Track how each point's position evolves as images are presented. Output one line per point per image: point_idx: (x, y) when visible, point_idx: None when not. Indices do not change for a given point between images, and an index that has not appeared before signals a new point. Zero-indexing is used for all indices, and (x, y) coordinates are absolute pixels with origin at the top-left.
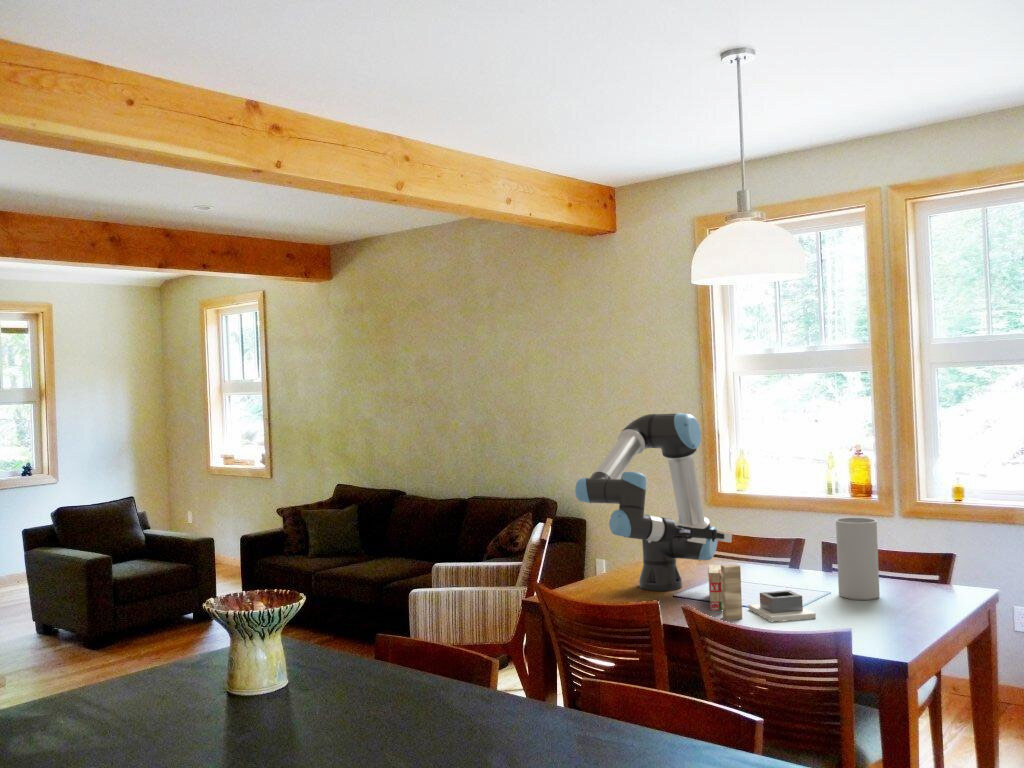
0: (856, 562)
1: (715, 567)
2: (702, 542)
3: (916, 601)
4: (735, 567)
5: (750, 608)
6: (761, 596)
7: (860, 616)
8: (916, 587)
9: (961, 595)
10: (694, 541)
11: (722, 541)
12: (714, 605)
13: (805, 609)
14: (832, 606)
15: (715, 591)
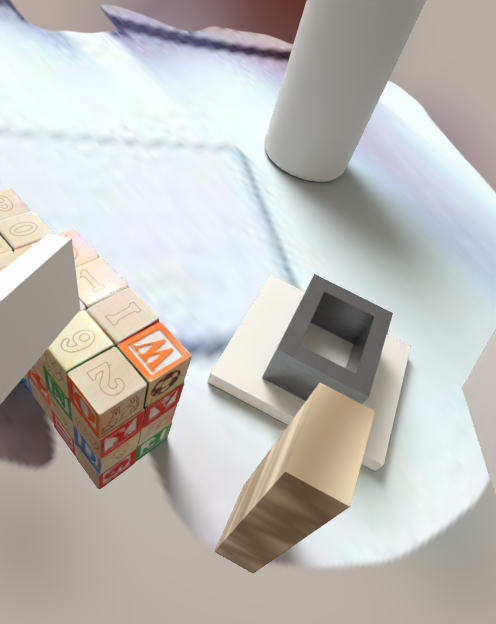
0: (367, 99)
1: None
2: (60, 325)
3: (392, 155)
4: (364, 441)
5: (222, 385)
6: (286, 362)
7: (435, 283)
8: None
9: (398, 110)
10: (3, 394)
11: (487, 460)
12: (115, 469)
13: None
14: (334, 241)
15: (125, 441)
